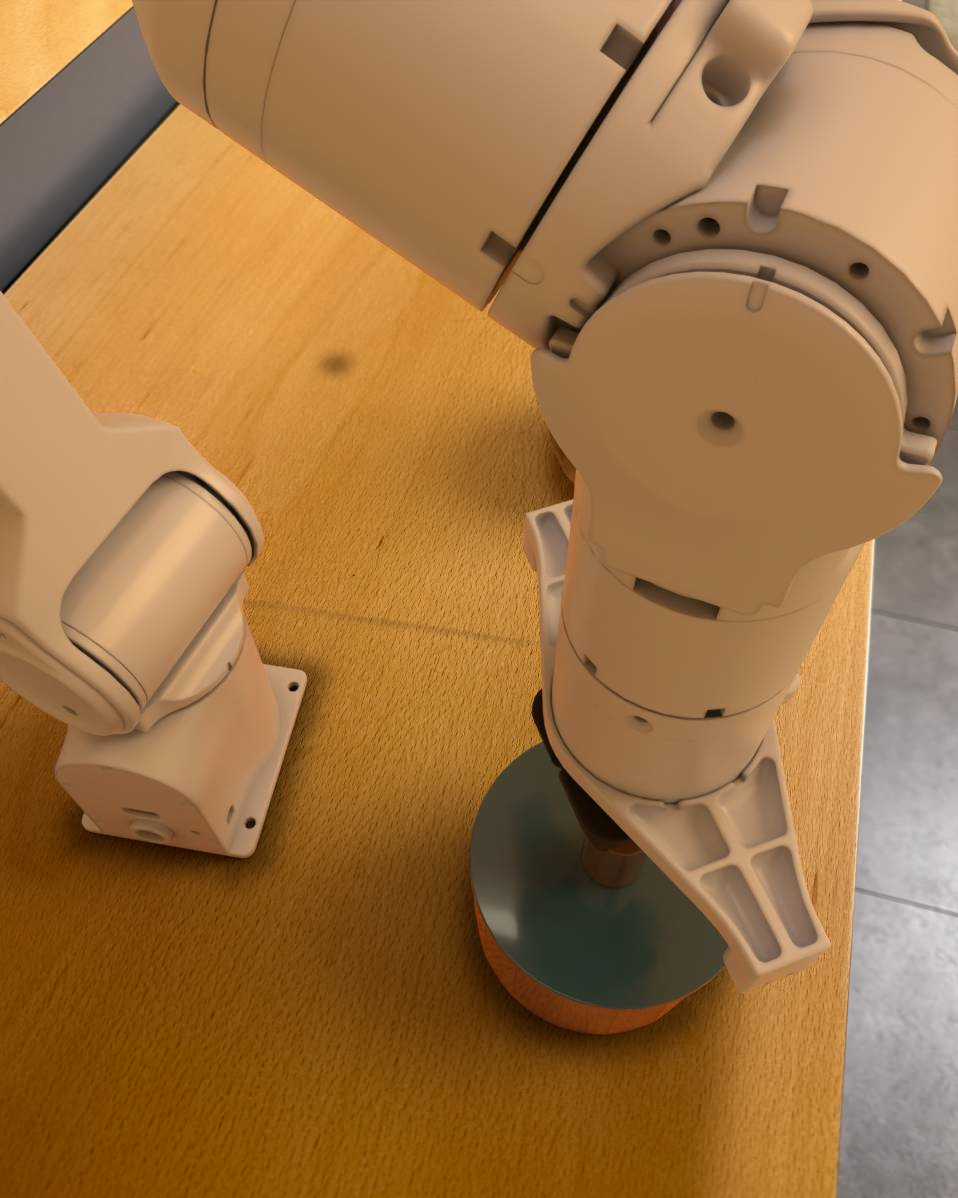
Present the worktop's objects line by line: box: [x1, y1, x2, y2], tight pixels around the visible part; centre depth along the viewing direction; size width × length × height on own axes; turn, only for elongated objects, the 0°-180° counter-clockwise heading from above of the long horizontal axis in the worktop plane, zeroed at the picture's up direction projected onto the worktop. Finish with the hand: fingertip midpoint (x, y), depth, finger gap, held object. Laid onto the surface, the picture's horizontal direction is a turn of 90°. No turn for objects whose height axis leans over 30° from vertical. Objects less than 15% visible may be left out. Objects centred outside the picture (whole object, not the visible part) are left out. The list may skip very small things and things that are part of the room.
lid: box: [468, 741, 729, 1012], centre depth 36 cm, size 11×11×5 cm
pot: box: [473, 897, 686, 1036], centre depth 40 cm, size 10×10×6 cm
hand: (620, 825), depth 34 cm, fingers closed, pressing on lid
